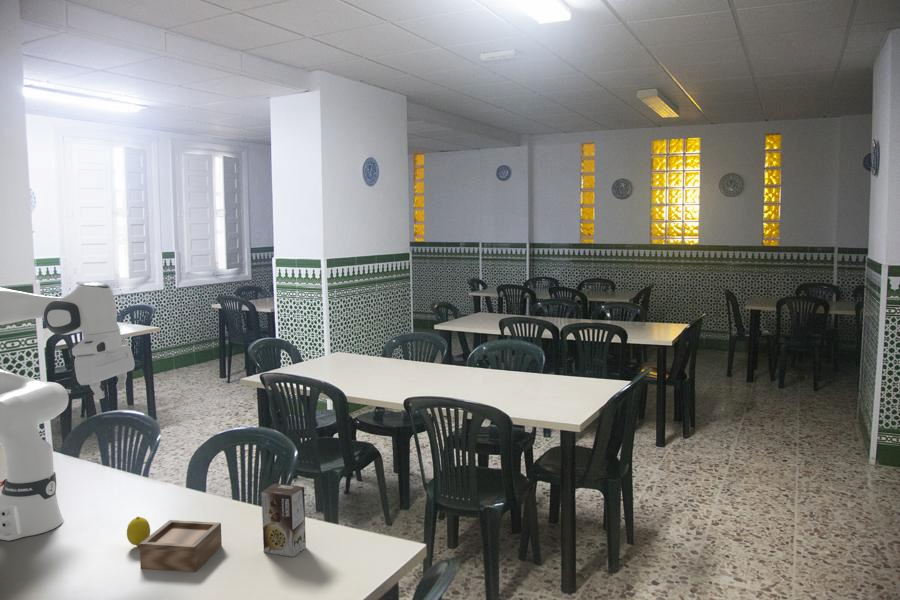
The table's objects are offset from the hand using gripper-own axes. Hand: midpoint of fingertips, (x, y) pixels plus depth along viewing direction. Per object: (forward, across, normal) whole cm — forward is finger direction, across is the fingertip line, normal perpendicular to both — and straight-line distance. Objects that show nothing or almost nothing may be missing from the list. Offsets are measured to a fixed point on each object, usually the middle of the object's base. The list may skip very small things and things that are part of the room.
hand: (111, 394), depth 184 cm
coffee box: (+44, +5, +44) cm, 62 cm away
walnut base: (+40, +12, +20) cm, 47 cm away
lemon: (+39, +8, +6) cm, 40 cm away
